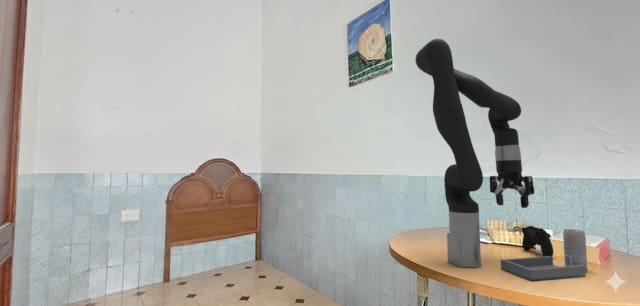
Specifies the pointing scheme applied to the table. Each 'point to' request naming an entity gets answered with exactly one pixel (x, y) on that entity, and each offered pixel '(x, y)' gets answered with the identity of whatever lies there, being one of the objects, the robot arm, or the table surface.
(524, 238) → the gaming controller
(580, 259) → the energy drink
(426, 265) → the table surface
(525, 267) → the tray
